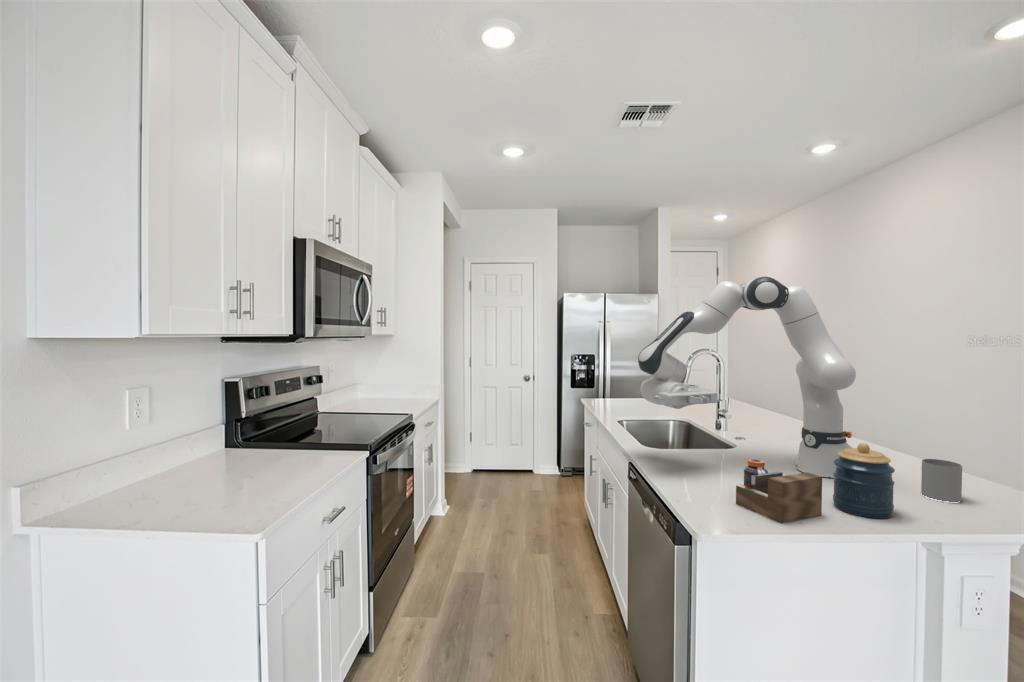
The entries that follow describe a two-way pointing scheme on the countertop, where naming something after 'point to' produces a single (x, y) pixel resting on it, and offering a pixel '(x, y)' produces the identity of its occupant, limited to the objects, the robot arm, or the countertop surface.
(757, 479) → the brushed metal plate
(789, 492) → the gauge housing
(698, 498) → the countertop surface
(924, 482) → the cup
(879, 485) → the canister
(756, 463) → the pill bottle
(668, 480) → the countertop surface
